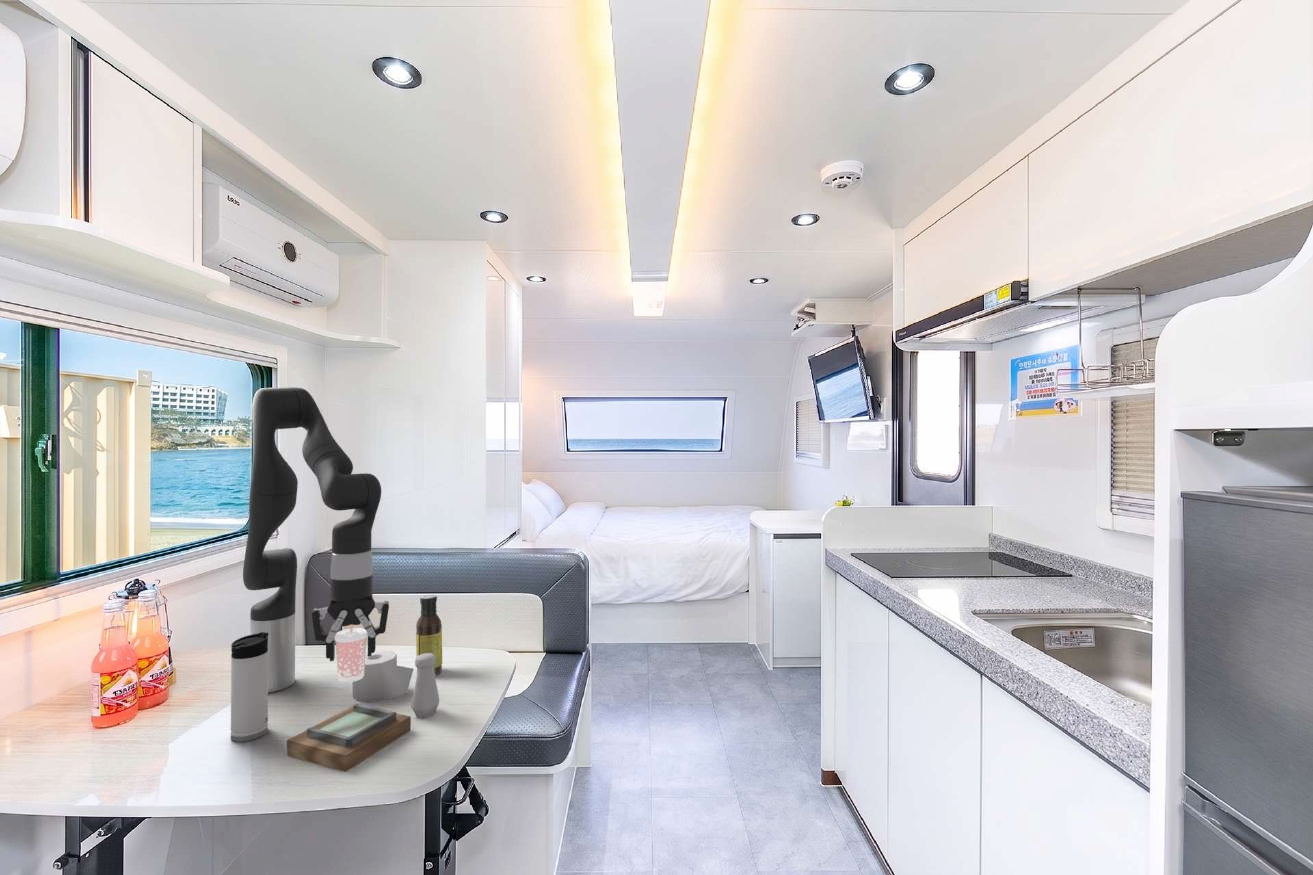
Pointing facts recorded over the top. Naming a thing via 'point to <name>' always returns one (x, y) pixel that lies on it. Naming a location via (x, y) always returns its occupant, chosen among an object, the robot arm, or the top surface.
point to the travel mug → (249, 687)
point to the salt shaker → (425, 687)
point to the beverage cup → (351, 654)
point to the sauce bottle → (429, 631)
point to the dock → (349, 737)
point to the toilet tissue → (382, 678)
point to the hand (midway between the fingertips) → (351, 657)
